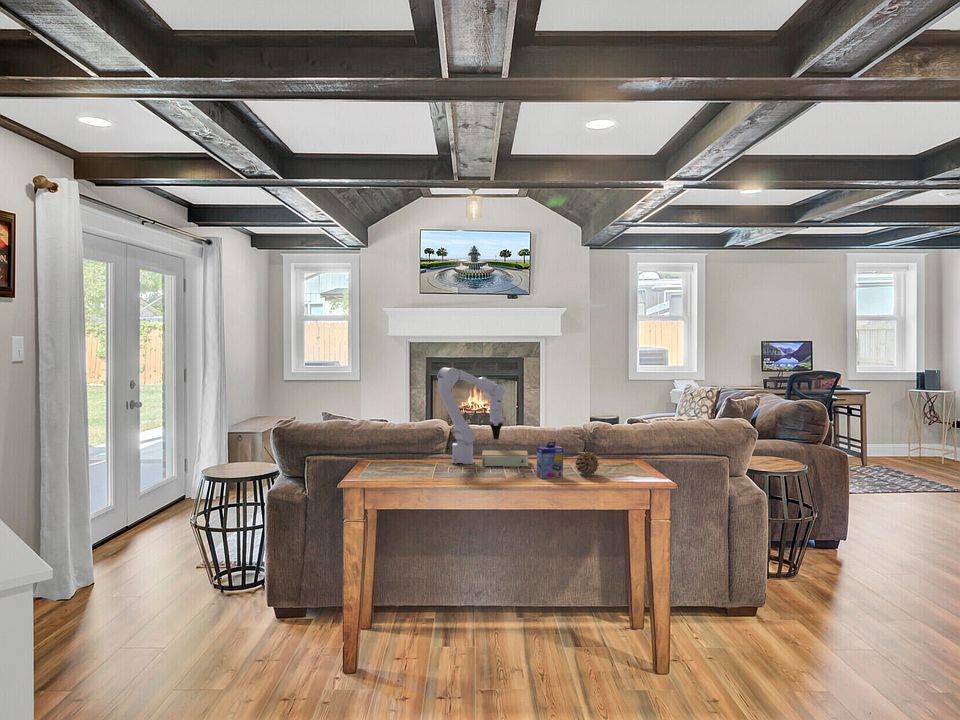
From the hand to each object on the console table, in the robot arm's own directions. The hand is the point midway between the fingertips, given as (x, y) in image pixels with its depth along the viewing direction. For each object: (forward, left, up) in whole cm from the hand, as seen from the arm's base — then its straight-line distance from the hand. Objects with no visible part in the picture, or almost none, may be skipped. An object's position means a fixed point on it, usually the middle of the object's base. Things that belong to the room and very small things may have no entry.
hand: (496, 439), depth 306 cm
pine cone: (+37, -31, -10) cm, 49 cm away
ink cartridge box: (+22, -38, -10) cm, 45 cm away
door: (+4, -18, -9) cm, 20 cm away
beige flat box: (+4, -11, -9) cm, 15 cm away
